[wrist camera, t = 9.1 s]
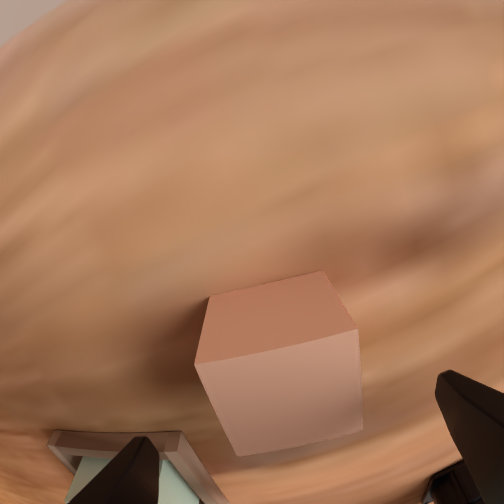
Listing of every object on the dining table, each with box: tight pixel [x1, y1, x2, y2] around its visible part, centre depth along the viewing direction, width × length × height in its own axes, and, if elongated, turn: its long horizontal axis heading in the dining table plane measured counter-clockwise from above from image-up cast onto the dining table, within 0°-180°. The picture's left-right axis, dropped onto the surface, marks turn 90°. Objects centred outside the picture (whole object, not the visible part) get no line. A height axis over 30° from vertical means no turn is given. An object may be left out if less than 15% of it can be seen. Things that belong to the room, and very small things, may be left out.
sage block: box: [64, 456, 200, 504], centre depth 14 cm, size 6×6×5 cm
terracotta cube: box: [194, 270, 363, 456], centre depth 11 cm, size 4×4×4 cm
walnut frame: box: [47, 430, 230, 504], centre depth 16 cm, size 10×10×2 cm
